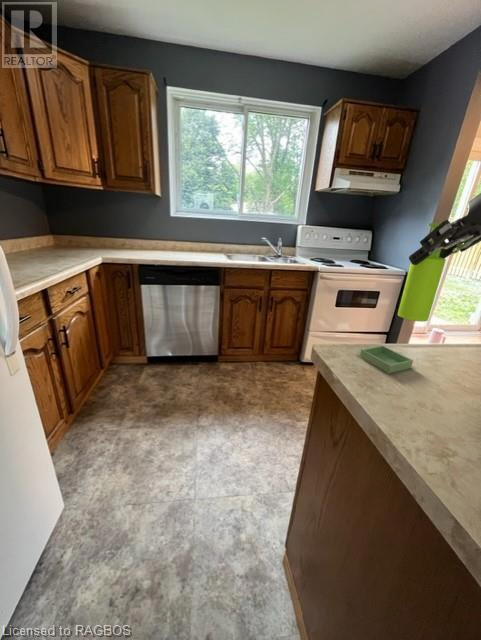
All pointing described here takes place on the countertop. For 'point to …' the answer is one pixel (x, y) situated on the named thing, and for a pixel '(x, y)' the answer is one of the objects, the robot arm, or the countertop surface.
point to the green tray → (386, 359)
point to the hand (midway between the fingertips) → (422, 260)
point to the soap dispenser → (421, 286)
